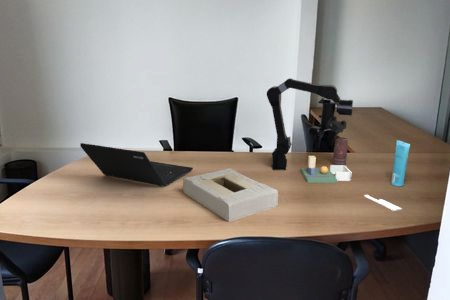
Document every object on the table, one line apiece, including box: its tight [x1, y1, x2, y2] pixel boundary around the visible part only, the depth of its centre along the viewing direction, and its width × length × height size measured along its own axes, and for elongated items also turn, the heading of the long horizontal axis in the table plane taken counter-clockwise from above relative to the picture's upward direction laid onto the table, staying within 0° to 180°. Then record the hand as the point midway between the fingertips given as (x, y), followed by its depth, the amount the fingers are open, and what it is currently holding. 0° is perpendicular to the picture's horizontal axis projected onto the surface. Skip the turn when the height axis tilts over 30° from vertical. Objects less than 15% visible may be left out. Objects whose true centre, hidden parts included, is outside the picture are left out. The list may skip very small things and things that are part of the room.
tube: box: [391, 139, 411, 187], centre depth 165 cm, size 7×5×19 cm, turn 26°
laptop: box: [80, 142, 193, 187], centre depth 171 cm, size 33×38×19 cm
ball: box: [320, 165, 329, 174], centre depth 175 cm, size 4×4×4 cm
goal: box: [329, 164, 353, 182], centre depth 176 cm, size 7×10×4 cm
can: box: [332, 137, 350, 166], centre depth 190 cm, size 6×6×14 cm
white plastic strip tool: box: [363, 194, 403, 212], centre depth 150 cm, size 5×15×1 cm, turn 25°
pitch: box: [300, 167, 338, 184], centre depth 176 cm, size 13×15×2 cm
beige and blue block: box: [307, 155, 317, 175], centre depth 175 cm, size 3×7×8 cm, turn 1°
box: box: [182, 167, 279, 223], centre depth 150 cm, size 23×8×32 cm
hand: (324, 146), depth 178 cm, fingers open, 9 cm apart
